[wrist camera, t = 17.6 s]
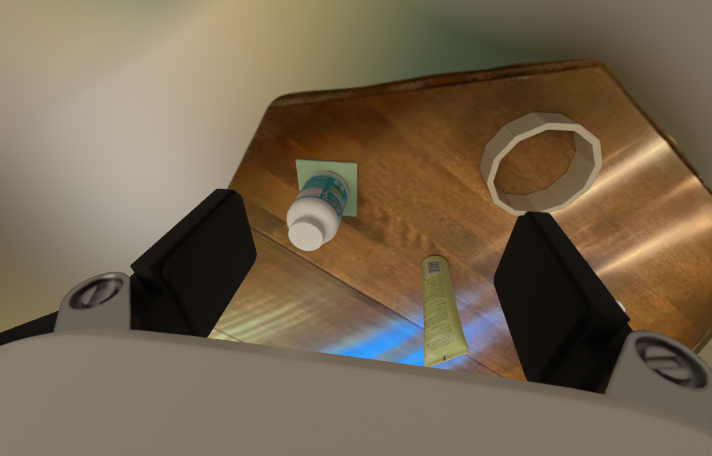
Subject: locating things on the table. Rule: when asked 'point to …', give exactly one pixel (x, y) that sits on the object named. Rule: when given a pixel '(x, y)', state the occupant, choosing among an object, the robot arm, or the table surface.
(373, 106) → the table surface
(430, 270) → the tube
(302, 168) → the mat
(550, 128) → the polygonal ring band
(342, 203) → the pill bottle
